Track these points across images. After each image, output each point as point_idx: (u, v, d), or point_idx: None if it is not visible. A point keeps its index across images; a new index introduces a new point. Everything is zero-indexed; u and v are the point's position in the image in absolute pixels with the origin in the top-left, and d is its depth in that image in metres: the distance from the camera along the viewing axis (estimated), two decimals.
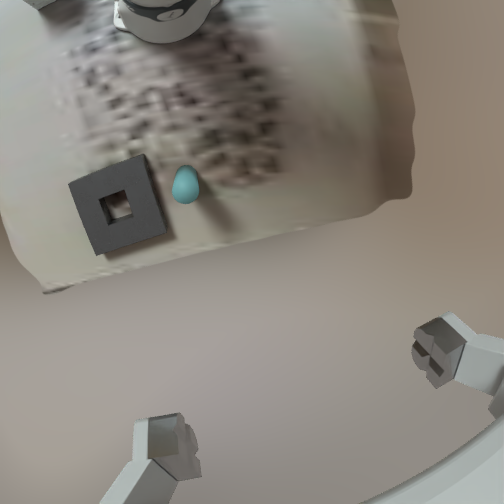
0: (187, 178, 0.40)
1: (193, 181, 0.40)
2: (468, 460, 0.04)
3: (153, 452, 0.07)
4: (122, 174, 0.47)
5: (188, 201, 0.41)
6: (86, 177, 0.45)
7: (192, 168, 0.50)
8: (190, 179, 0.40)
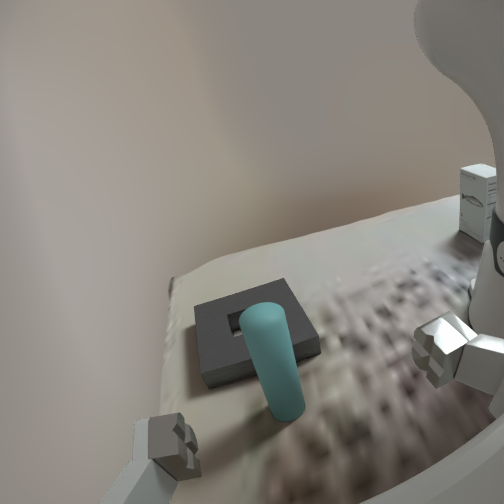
0: (282, 315, 0.23)
1: (277, 323, 0.23)
2: (468, 460, 0.04)
3: (153, 452, 0.07)
4: (291, 321, 0.37)
5: (242, 322, 0.24)
6: (289, 291, 0.43)
7: (299, 402, 0.27)
8: (281, 319, 0.23)
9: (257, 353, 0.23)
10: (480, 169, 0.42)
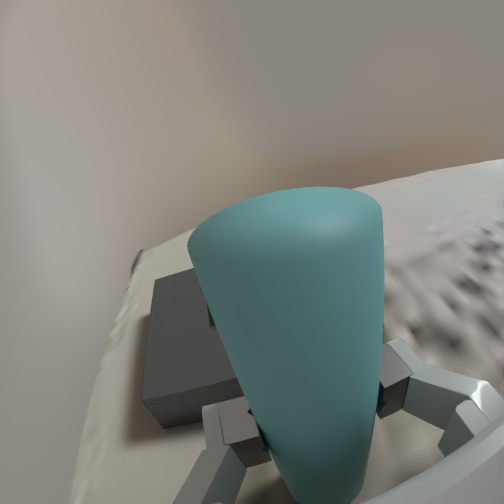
0: (374, 209, 0.05)
1: (363, 230, 0.05)
2: (468, 460, 0.04)
3: (230, 437, 0.07)
4: None
5: (201, 240, 0.06)
6: None
7: (361, 479, 0.09)
8: (373, 218, 0.05)
9: (264, 377, 0.05)
10: None
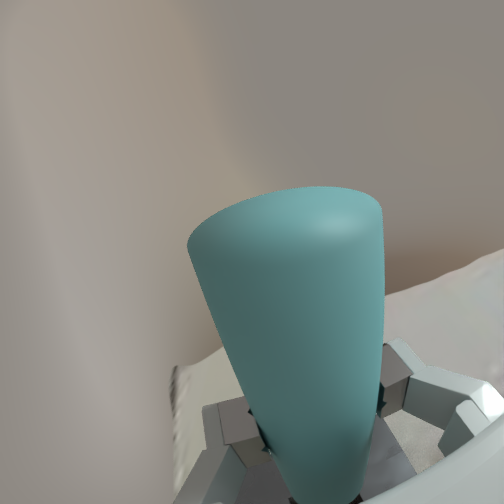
0: (374, 209, 0.05)
1: (363, 229, 0.05)
2: (468, 460, 0.04)
3: (230, 437, 0.07)
4: None
5: (201, 240, 0.06)
6: (396, 445, 0.19)
7: (362, 479, 0.09)
8: (373, 218, 0.05)
9: (263, 378, 0.05)
10: None
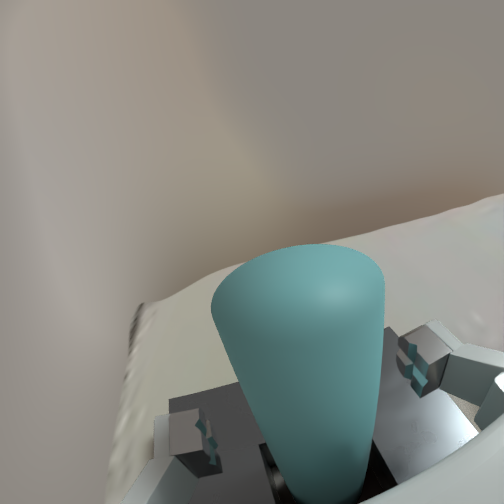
0: (378, 279, 0.06)
1: (367, 306, 0.05)
2: (468, 460, 0.04)
3: (176, 448, 0.07)
4: None
5: (224, 306, 0.06)
6: None
7: (360, 489, 0.10)
8: (376, 291, 0.05)
9: (277, 418, 0.06)
10: None
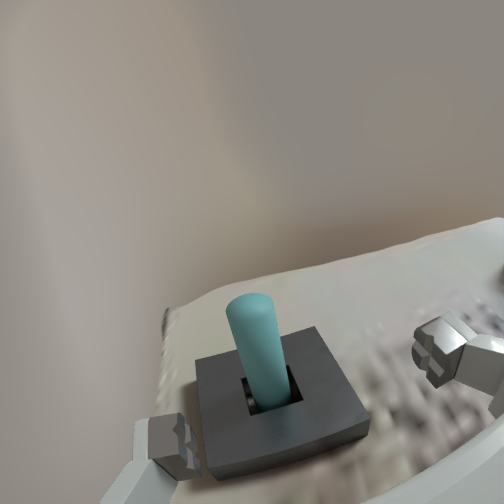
0: (271, 306, 0.23)
1: (265, 313, 0.22)
2: (468, 460, 0.04)
3: (153, 452, 0.07)
4: (331, 394, 0.25)
5: (229, 311, 0.23)
6: (324, 346, 0.31)
7: (287, 401, 0.27)
8: (269, 309, 0.22)
9: (243, 344, 0.23)
10: None
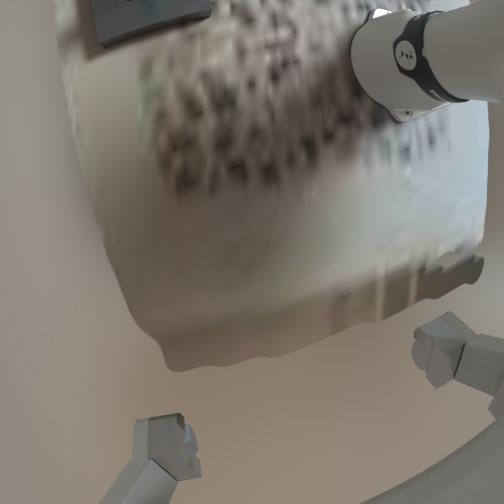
0: None
1: None
2: (468, 460, 0.04)
3: (153, 452, 0.07)
4: None
5: None
6: None
7: None
8: None
9: None
10: None
